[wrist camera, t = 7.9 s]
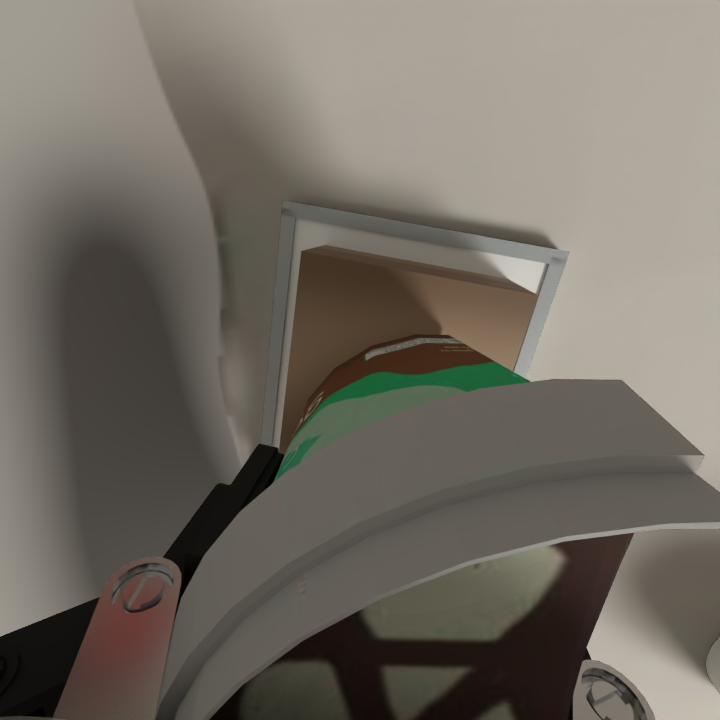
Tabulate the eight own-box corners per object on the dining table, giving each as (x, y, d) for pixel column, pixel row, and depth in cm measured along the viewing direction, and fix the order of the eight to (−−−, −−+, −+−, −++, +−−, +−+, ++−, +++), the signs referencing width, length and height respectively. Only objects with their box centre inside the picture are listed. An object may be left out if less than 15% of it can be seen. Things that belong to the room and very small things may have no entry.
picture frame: (290, 201, 17) (282, 200, 16) (559, 249, 17) (569, 251, 16) (262, 489, 23) (255, 502, 22) (463, 533, 22) (466, 549, 21)
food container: (268, 269, 12) (5, 405, 3) (457, 290, 13) (788, 469, 3) (256, 570, 16) (130, 1056, 7) (402, 578, 17) (478, 1046, 7)
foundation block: (325, 245, 17) (301, 250, 13) (508, 278, 16) (537, 295, 13) (292, 486, 21) (268, 542, 18) (436, 518, 21) (442, 582, 17)
